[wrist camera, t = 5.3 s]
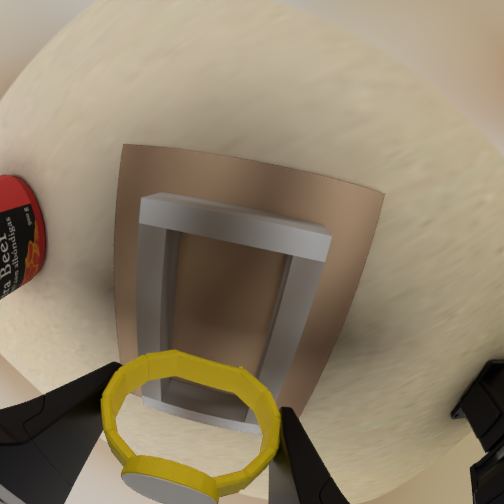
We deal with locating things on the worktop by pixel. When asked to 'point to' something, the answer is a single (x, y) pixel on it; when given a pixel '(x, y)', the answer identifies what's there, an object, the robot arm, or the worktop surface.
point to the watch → (172, 473)
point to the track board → (234, 273)
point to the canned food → (19, 235)
